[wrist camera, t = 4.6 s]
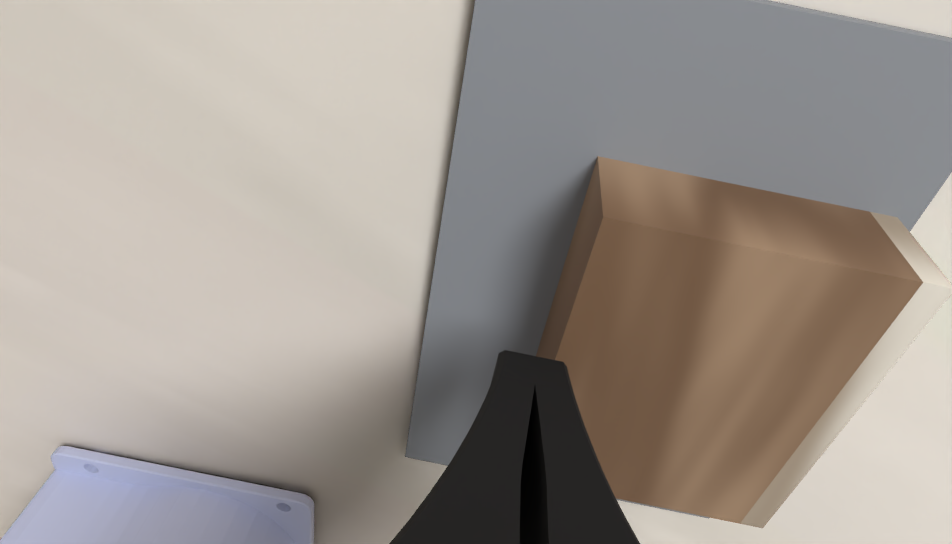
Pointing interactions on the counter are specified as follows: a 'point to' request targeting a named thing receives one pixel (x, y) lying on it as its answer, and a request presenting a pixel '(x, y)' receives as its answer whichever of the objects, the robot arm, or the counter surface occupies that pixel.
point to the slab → (727, 332)
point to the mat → (653, 148)
